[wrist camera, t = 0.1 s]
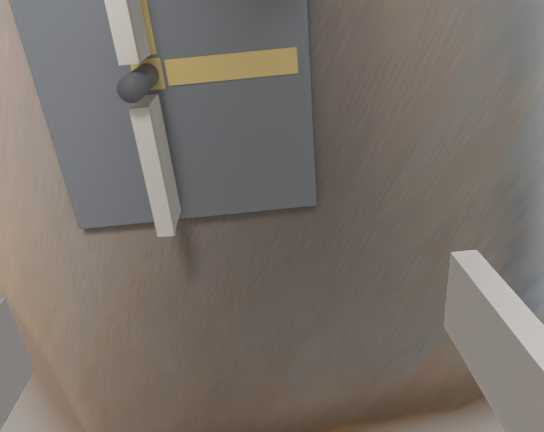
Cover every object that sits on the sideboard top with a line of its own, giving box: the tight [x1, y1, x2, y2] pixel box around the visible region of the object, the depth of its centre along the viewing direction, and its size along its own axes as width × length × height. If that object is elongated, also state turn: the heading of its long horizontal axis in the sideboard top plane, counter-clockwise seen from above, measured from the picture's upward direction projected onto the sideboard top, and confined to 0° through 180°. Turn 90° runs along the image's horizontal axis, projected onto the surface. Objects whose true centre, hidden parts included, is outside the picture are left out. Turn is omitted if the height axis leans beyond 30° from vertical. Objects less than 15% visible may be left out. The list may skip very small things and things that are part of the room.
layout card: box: [9, 0, 317, 229], centre depth 37 cm, size 25×22×1 cm
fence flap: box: [129, 94, 181, 237], centre depth 37 cm, size 10×1×5 cm, turn 5°
